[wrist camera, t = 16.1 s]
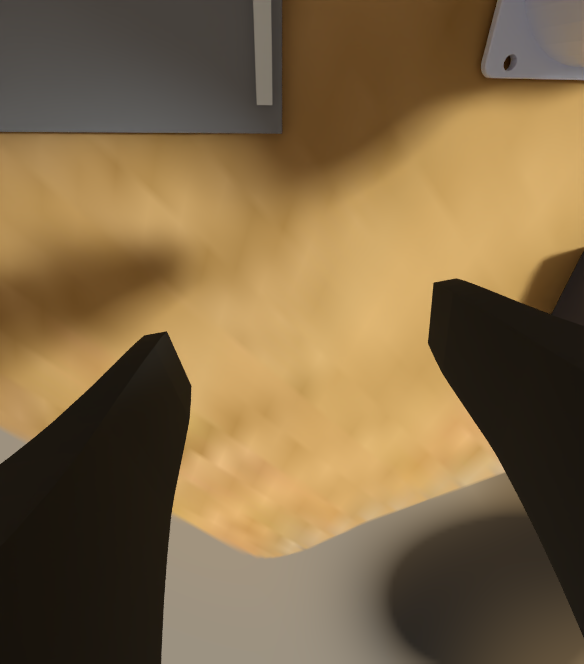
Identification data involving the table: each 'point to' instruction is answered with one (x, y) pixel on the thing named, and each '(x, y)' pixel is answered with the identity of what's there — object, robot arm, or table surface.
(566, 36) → the robot arm
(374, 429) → the table surface
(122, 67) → the track
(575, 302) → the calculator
